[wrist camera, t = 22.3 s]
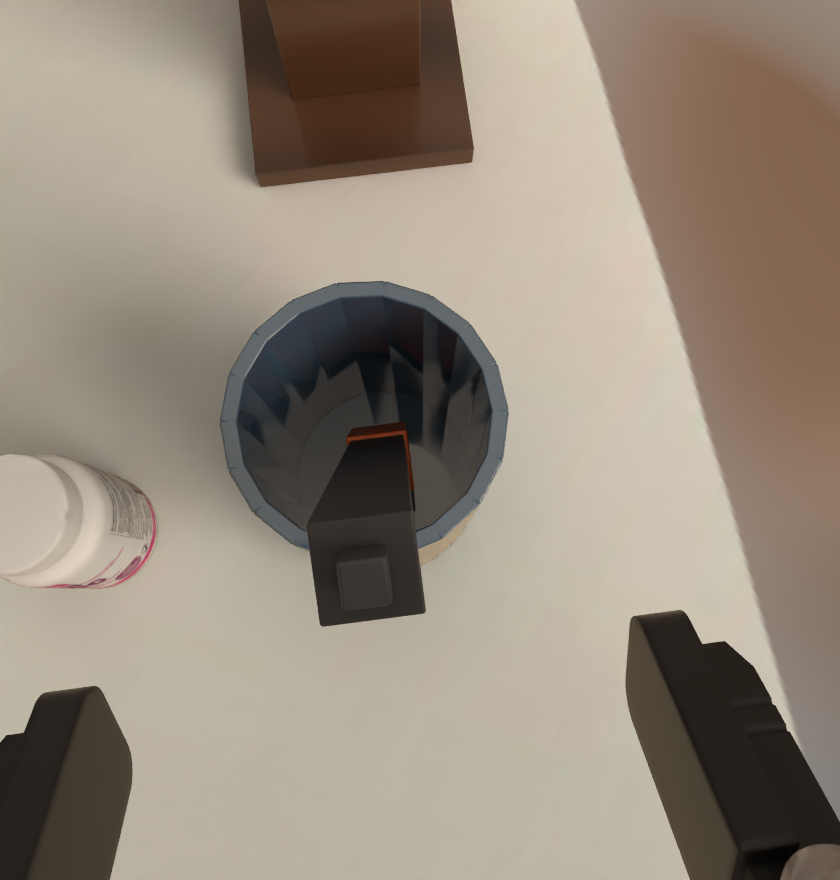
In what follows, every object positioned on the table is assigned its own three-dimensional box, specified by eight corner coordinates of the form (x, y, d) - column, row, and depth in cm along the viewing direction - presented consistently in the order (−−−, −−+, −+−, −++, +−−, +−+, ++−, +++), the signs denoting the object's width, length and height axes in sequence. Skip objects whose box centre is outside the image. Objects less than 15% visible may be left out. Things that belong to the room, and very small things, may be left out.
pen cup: (274, 560, 34) (196, 540, 22) (306, 373, 36) (249, 263, 24) (465, 586, 34) (489, 581, 22) (488, 397, 35) (522, 298, 24)
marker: (438, 639, 14) (421, 511, 14) (307, 656, 14) (289, 528, 14) (411, 474, 34) (405, 421, 34) (358, 481, 34) (351, 428, 34)
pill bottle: (69, 607, 34) (-47, 610, 25) (35, 503, 34) (-87, 473, 26) (176, 563, 34) (96, 552, 26) (140, 461, 35) (52, 419, 27)
